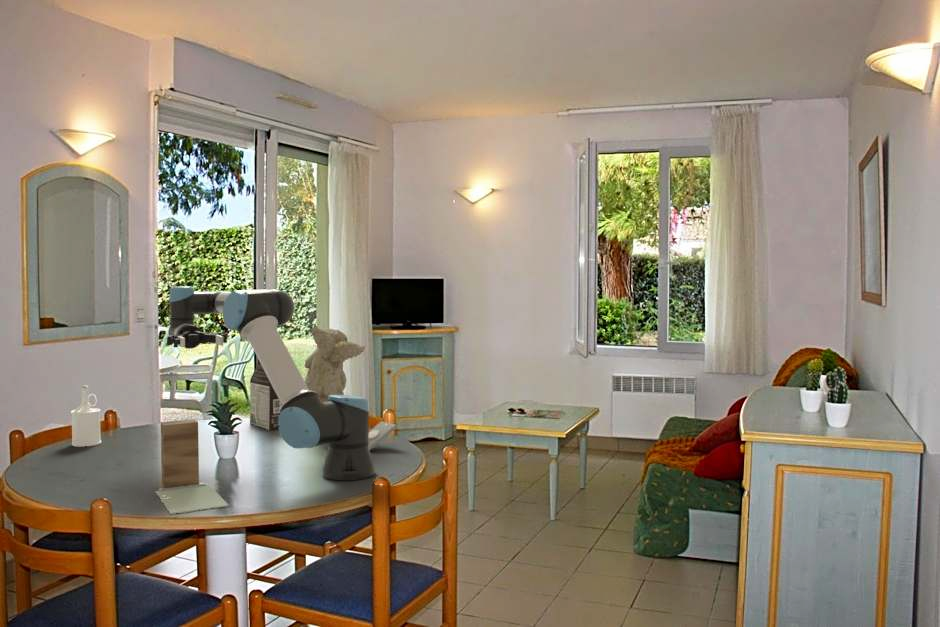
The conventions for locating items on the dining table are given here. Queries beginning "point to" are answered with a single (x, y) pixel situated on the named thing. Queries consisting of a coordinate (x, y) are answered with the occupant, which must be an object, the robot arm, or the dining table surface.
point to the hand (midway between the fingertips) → (203, 341)
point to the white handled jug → (86, 422)
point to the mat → (191, 499)
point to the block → (179, 453)
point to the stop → (182, 486)
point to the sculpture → (329, 362)
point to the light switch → (380, 433)
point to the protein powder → (263, 400)
